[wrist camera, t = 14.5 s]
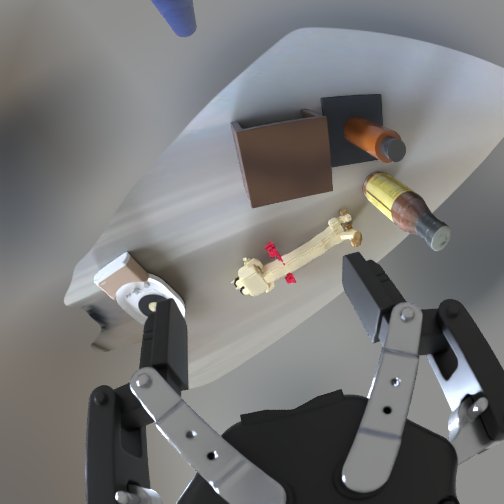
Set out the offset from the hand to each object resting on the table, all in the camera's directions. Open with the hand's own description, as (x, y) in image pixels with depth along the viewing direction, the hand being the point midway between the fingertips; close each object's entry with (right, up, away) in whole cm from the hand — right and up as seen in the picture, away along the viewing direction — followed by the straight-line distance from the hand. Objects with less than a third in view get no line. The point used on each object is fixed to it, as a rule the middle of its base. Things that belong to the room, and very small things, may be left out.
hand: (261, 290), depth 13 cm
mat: (+17, +22, +30) cm, 41 cm away
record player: (-22, -7, +43) cm, 49 cm away
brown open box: (+3, +18, +30) cm, 35 cm away
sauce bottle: (+22, +15, +36) cm, 45 cm away
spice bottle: (+17, +22, +29) cm, 40 cm away
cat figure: (+7, +2, +42) cm, 43 cm away
